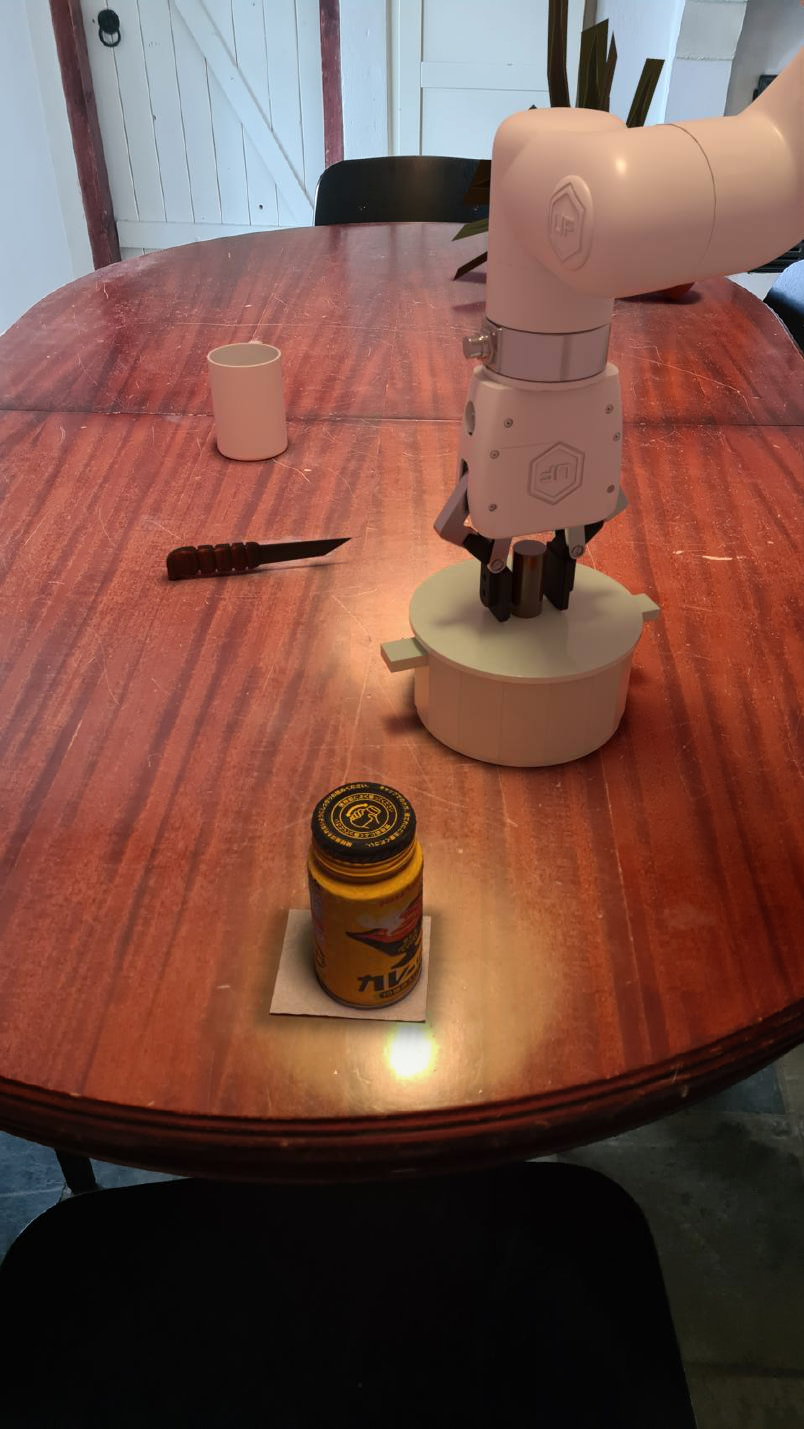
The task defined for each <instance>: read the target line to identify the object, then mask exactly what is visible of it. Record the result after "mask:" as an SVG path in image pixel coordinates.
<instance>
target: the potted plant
mask: <svg viewBox="0 0 804 1429" xmlns="http://www.w3.org/2000/svg"><path fill="white" fill-rule="evenodd" d="M547 9H548V12H547V14H548V15H547V51H546V52H547V54H546V55H547V56H546V78H547V87H548V96H549V97H548V98H549V106H550V107H549V108H556V107H565V108H572V106H571V99H570V90H569V80H568V79H569V78H568V70H567V69H568V68H567V65H568V64H567V63H568V62H567V58H568V28H569V26H568V25H569V24H568V23H569V0H548V8H547ZM609 23H610V18H609V17H607V18H606V19H603V20H602V21H600V22H597V23H596V24H594V25H592V26H590V27H588V28H586V29H584V30H582V31H581V32H580V47H579V48H580V50H579V68H578V70H579V71H578V76H579V77H578V98H577V99H578V102H577V108H584V109H592V110H599V111H604V112H608V113H610V107H611V97H610V96H611V90H612V85H613V81H614V77H615V71H616V66H617V63H618V62H617V61H618V50H617V45H616V44H617V43H616V38H615V31H612V34H611V38H610V44H609V49H608V42H609V41H608V40H609V25H610V24H609ZM665 62H666V59H663V58H662V59H661V58H650V57H646V58H645V62H644V64H643V68H642V71H641V74H640V77H639V80H638V84H637V86H636V89H635V91H634V95H633V98H632V102H631V104H630V108H629V112H628V115H627V118H626V122H625V124H626V126H627V128H635V127H644V126H645V123H646V120H647V116H648V113H649V110H650V107H651V104H652V101H653V97H654V94H655V92H656V88H657V86H658V82H659V81H660V80H659V79H660V77H661V73H662V70H663V68H664V64H665ZM531 109H538V107H537V106H536V105H535V104H534V103H533V104H532V105H531V106H530V107H529V108H528V109H527V110H531ZM491 163H492V159H483V158H481V159H480V160H479V163H478V165H477V167H476V169H475V172H474V174H473V176H472V177H471V180H470V183H469V185H468V188H467V190H466V192H465V194H464V197H463V198H462V201H461V203H460V207H467V206H468V207H470V206H490V186H491ZM487 232H489V217H485V218H484V219H483V218H482V219H479V220H476V221H472V222H468V223H465V224H464V225H463V226H462V228H461V229H460V230H459V231H458V232H457V234H456V235H455V236H454V237H453V238H452V240H450V242H456V241H458V240H463V239H466V238H469V237H472V236H473V237H474V236H476V235H479V234H484V233H487ZM487 255H488V250H486V251H485V252H483V253H482V254H480V255H478V256H476V257H475V258H473V259H471V260H470V261H468V262H467V263H465V264H463V265H462V266H460V267H458V268H457V270H456V273H455V275H454V277H453V280H452V282H455V281H456V280H458V279H460V278H461V277H463V276H464V275H466V274H468V273H469V272H471V271H473V270H474V269H476V268H478V267H479V266H481V265H483V264H485V263H487ZM695 284H696V282H693V283H687V284H682V285H677V286H674V287H671V288H667V289H663V290H658V291H655V292H656V293H659V294H661V295H663V296H665V297H667V298H669V299H672V300H674V301H677V300H680V299H681V298H683V297H684V296H685V295H686V294H687V293H688V292H689V291H690V290H691V289H692V287H693V286H694V285H695Z"/></svg>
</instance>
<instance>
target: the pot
mask: <svg viewBox="0 0 804 1429" xmlns="http://www.w3.org/2000/svg"><path fill="white" fill-rule="evenodd" d="M632 595H633V597H634V598H635V599H636V601H637V603H638V604H639V606H640V609H641V612H642V615H643V624H644V623H649V622H653V621H658V620H660V614H661V613H660V612H661V607H660V606H659V605H658V604H656V602H654V601H653V599H651V598H650V597H649V595H647V594H646V593H645V592H643V593H638V594H632ZM379 645H380V656H381V658H382V660H383V662H384V663H385V665H386V667H387V668H388V670H389V672H390V674H394V673H398V672H404V671H408V670H414V705H415V708H416V712H417V715H418V717H419V720H420V721H421V723H422V724H423V726H424V727H425V729H426V730H427V731H428V732H429V733H430V735H432V736H433V737H434V738H435V739H437V741H439V743H442V744H443V745H445V746H447V747H448V748H450V749H451V750H453V751H454V752H457V753H459V754H461V755H463V756H465V757H468V758H471V759H474V760H478V761H480V762H485V763H488V764H493V765H499V766H505V767H516V768H538V767H549V766H550V767H551V766H555V765H560V764H565V763H568V762H571V761H575V760H577V759H580V758H583V757H585V756H588V755H589V754H591V753H593V752H594V751H597V750H598V749H599V748H601V747H602V746H603V745H605V744H606V743H607V742H608V741H609V740H610V739H611V738H613V735H614V734H615V732H616V731H617V729H618V728H619V725H620V723H621V720H622V716H623V715H624V713H625V709H626V704H627V697H628V696H627V695H628V689H629V684H630V676H631V672H632V665H633V658H634V652H635V649H634V650H633V652H632V653H631V654H630V655H629V656H628V657H627V658H626V659H624V660H623V661H622V662H620V663H619V664H617V665H616V666H614V667H612V668H610V669H608V670H606V671H604V672H602V673H599V674H596V675H594V676H591V677H587V678H583V679H579V680H575V681H569V682H563V683H553V684H518V683H508V682H501V681H495V680H490V679H486V678H482V677H478V676H475V675H472V674H468V673H465V672H463V671H461V670H458V669H456V668H453V667H451V666H449V665H448V664H446V663H444V662H442V661H440V660H439V659H437V658H436V657H434V656H433V655H432V654H430V653H429V652H428V651H427V650H426V649H425V648H424V647H423V646H422V645H421V644H420V643H419V642H418V640H417V639H416V638H415V636H413V637H408V638H402V639H396V640H392V641H386V642H381V643H380V644H379Z"/></svg>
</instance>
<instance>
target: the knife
mask: <svg viewBox="0 0 804 1429" xmlns="http://www.w3.org/2000/svg"><path fill="white" fill-rule="evenodd" d="M350 540H353V537H338V538H337V537H336V538H326V539H313V540H303V541H290V542H289V541H288V542H278V543H265V544H260V543H258V542H257V541H246V542H245V544H244V542H242V541H239V542H238V541H237V542H232V544H231V545H230V543H227V542H225V543H217V544H215V545H214V546H213V545H212V544H200V545H197V548H196V546H193V545H185V546H180V547H177V548H175V549H173V550H171V551H170V552H169V553H168V555H167V557H166V558H165V564H166V571H167V577H168V578H169V579H170V580H171V581H174V580H176V579H177V578H179V577H182V576H196V575H198V573H199V572H200V574H201V575H210V574H214V573H216V572H219V573H227V572H232V571H233V569H234V571H235V572H242V571H243V572H244V571H246V570H247V569H248V570H249V571H250V570H251V571H252V570H255V569H256V568H258V567H260V566H264V565H270V564H276V563H277V564H278V563H283V562H284V563H285V562H291V561H292V562H293V561H298V560H305V559H312V558H318V557H325V556H326V555H328V554H330V553H331V552H333V551H334V550H336V549H338V548H339V547H341V546H342V545H344V544H345V543H347V542H349V541H350Z"/></svg>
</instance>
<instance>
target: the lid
mask: <svg viewBox="0 0 804 1429" xmlns="http://www.w3.org/2000/svg"><path fill="white" fill-rule="evenodd" d="M546 561H547V546H546V543H544V542H542V541H539V540H535V539H521V540H518V541H516V542H514V543H513V545H512V547H511V553H509V554H508V558H507V567H508V568H509V569H510V570H511V571H512V574H513V580H512V595H511V609H510V618H509V619H508V620H507V621H505V622H499V621H498V620H497V619H496V617H495V616H494V615H493V613H492V612H491V611H490V610H489V608H488V607H485V606H484V605H483V604H482V602H481V600H480V594H479V591H480V570H481V562H480V561H479V560H478V559H477V558H475V557H474V558H469V559H466V560H463V561H459V562H456V563H453V564H451V565H448V566H446V567H444V568H442V569H440V570H438V571H436V572H434V573H433V574H431V575H430V576H428V577H426V579H425V580H423V581H422V582H421V583H420V584H419V586H418V587H416V589H415V590H414V593H413V594H412V596H411V598H410V602H409V606H408V622H409V627H410V630H411V632H412V634H413V637H415V638H416V639H417V640H418V642H419V643H420V644H421V645H422V646H423V647H424V648H425V649H426V650H427V651H428V652H429V653H430V654H432V655H433V656H434V657H436V658H437V659H439V660H440V661H442V662H444V663H446V664H448V665H449V666H451V667H453V668H456V669H458V670H461V671H463V672H465V673H468V674H472V675H475V676H478V677H482V678H486V679H490V680H495V681H501V682H508V683H518V684H553V683H563V682H569V681H575V680H579V679H583V678H587V677H591V676H594V675H596V674H599V673H602V672H604V671H606V670H608V669H610V668H612V667H614V666H616V665H617V664H619V663H620V662H622V661H623V660H624V659H626V658H627V657H628V656H629V655H630V654H631V653H632V652H633V650H634V651H635V649H636V647H637V646H638V645H639V642H640V640H641V638H642V633H643V626H644V623H643V615H642V612H641V609H640V606H639V604H638V603H637V601H636V599H635V598H634V597H633V595H634V594H632V593H631V592H630V590H629V589H627V588H626V587H625V586H624V585H623V584H621V583H620V582H619V581H617V580H616V579H614V578H613V577H611V576H609V575H608V574H605V573H604V572H602V571H600V570H597V569H595V568H593V567H591V566H588V565H585V564H581V563H580V562H576V570H575V579H574V588H573V591H571V592H570V596H569V605H568V609H567V610H562V611H559V610H558V609H556V608H555V607H554V606H553V605H552V603H551V602H550V601H549V600H548V599H547V598H546V597H545V595H544V583H545V572H546ZM633 653H634V652H633Z"/></svg>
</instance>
